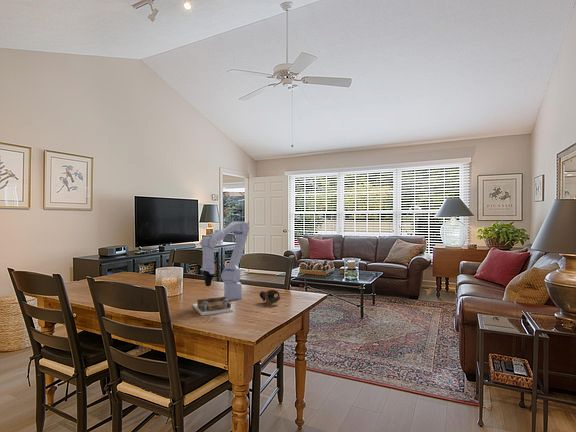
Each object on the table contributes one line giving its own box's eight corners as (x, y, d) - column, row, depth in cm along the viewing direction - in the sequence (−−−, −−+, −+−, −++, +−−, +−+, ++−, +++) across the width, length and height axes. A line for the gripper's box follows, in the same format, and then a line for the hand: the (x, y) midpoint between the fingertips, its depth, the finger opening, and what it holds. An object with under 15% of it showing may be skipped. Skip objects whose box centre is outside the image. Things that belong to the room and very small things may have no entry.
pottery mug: (281, 302, 184) (283, 291, 180) (275, 314, 176) (276, 302, 172) (261, 295, 187) (262, 283, 183) (254, 306, 179) (255, 295, 175)
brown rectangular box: (224, 303, 173) (225, 296, 173) (230, 307, 165) (230, 300, 165) (197, 306, 166) (197, 299, 166) (202, 311, 158) (202, 303, 158)
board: (221, 302, 179) (221, 293, 179) (232, 311, 164) (232, 300, 164) (192, 306, 172) (192, 296, 172) (201, 315, 156) (202, 304, 156)
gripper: (197, 258, 179) (196, 284, 179) (204, 261, 167) (204, 289, 167) (210, 257, 183) (210, 282, 183) (218, 261, 170) (218, 288, 170)
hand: (208, 285), depth 175 cm, fingers closed
